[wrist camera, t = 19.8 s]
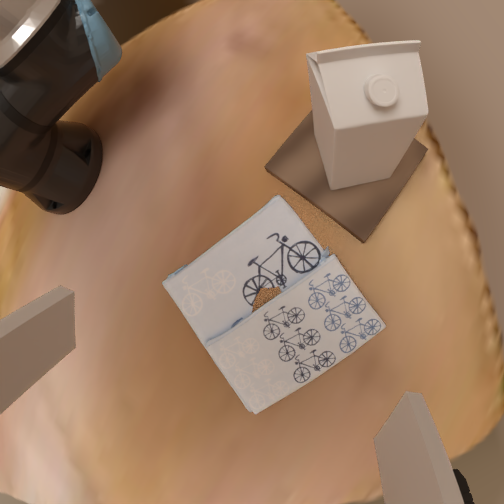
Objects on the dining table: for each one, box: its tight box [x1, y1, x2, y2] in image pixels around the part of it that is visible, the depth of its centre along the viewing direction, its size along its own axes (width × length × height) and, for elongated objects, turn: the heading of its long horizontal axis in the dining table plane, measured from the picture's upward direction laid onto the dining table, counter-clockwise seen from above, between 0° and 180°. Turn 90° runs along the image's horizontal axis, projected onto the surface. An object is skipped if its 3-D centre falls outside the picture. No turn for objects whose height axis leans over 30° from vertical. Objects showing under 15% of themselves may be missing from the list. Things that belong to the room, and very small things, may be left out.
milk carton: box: [306, 40, 428, 190], centre depth 24 cm, size 7×7×19 cm
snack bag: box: [162, 195, 386, 414], centre depth 35 cm, size 19×20×2 cm
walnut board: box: [265, 110, 428, 243], centre depth 34 cm, size 14×14×2 cm
